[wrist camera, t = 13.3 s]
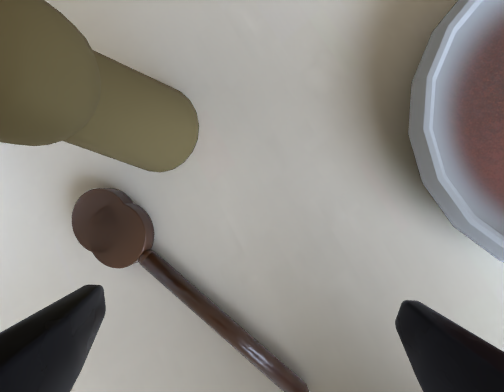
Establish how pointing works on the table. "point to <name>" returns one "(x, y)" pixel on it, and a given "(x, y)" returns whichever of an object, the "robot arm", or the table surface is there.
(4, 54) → the olive pawn
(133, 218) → the wooden spoon
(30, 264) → the table surface
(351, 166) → the table surface
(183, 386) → the table surface
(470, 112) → the frying pan
